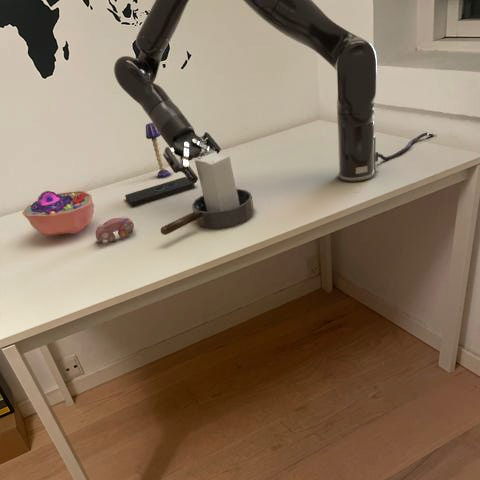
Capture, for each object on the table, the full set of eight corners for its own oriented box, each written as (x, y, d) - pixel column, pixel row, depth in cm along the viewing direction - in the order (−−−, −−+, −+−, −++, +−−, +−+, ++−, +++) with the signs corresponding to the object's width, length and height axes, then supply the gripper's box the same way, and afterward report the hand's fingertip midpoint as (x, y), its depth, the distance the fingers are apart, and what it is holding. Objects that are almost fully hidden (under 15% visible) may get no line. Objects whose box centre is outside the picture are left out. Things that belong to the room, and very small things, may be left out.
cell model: (70, 250, 121) (53, 208, 115) (22, 241, 131) (4, 202, 125) (116, 221, 132) (103, 182, 126) (68, 215, 142) (54, 178, 136)
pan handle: (198, 216, 118) (197, 208, 117) (203, 217, 117) (202, 210, 116) (160, 235, 113) (157, 227, 111) (164, 237, 111) (162, 229, 110)
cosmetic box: (242, 214, 121) (232, 156, 112) (222, 223, 119) (210, 163, 110) (224, 207, 127) (214, 150, 119) (205, 214, 125) (193, 157, 116)
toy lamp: (154, 178, 159) (140, 126, 149) (160, 173, 162) (147, 122, 153) (166, 178, 157) (153, 125, 148) (173, 172, 160) (160, 121, 151)
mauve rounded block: (101, 251, 121) (96, 232, 115) (95, 239, 123) (89, 220, 117) (138, 238, 124) (135, 220, 118) (131, 226, 126) (128, 207, 120)
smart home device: (194, 182, 144) (131, 201, 138) (195, 187, 145) (132, 207, 139) (185, 176, 150) (124, 194, 145) (186, 181, 151) (125, 199, 146)
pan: (227, 201, 132) (224, 185, 129) (266, 211, 122) (263, 194, 119) (184, 222, 124) (180, 205, 122) (222, 234, 114) (218, 217, 112)
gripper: (151, 122, 113) (191, 176, 112) (197, 106, 120) (235, 157, 119) (145, 142, 120) (182, 194, 119) (189, 126, 127) (225, 175, 126)
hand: (209, 175), depth 119 cm, fingers open, 8 cm apart
